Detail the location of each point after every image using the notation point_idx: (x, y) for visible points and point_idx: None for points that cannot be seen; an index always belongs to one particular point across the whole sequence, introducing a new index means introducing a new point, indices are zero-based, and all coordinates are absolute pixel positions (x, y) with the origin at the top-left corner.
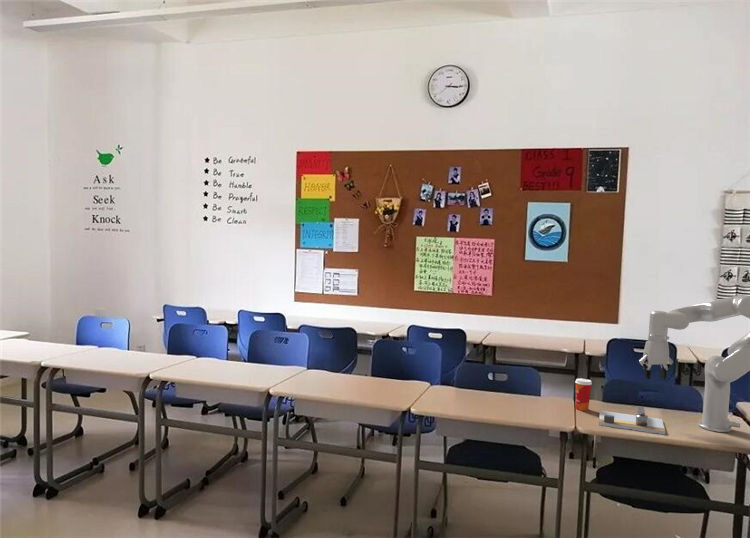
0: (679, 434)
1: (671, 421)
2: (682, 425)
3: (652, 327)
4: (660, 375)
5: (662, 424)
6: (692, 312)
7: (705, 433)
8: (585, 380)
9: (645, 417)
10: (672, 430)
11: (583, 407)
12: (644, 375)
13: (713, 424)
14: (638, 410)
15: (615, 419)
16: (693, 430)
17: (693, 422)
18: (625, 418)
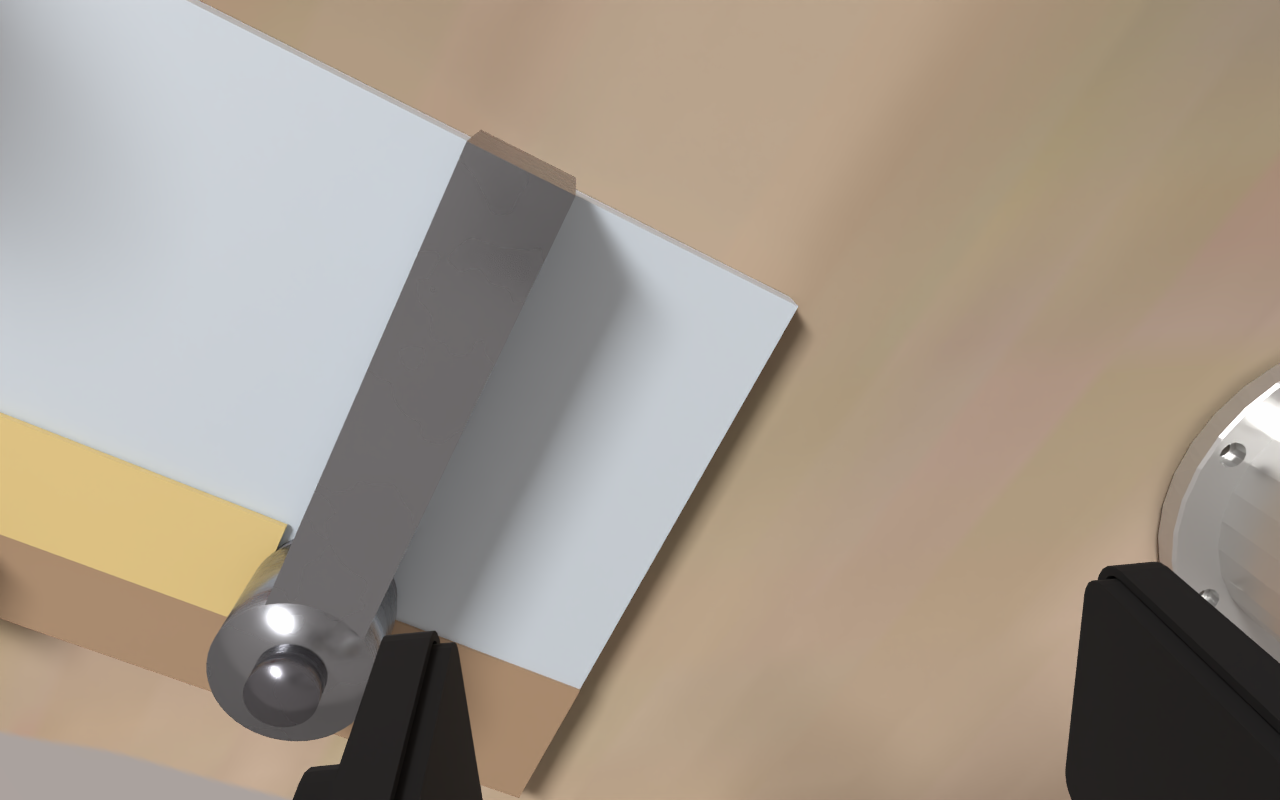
0: (701, 746)
1: (952, 269)
2: (982, 433)
3: None
4: (1134, 648)
5: (650, 544)
6: None
7: (1041, 691)
8: None
9: (312, 737)
10: (707, 627)
11: None
12: (308, 772)
13: (1273, 636)
14: (359, 417)
15: (26, 377)
16: (978, 607)
17: (1247, 294)
18: (212, 316)
